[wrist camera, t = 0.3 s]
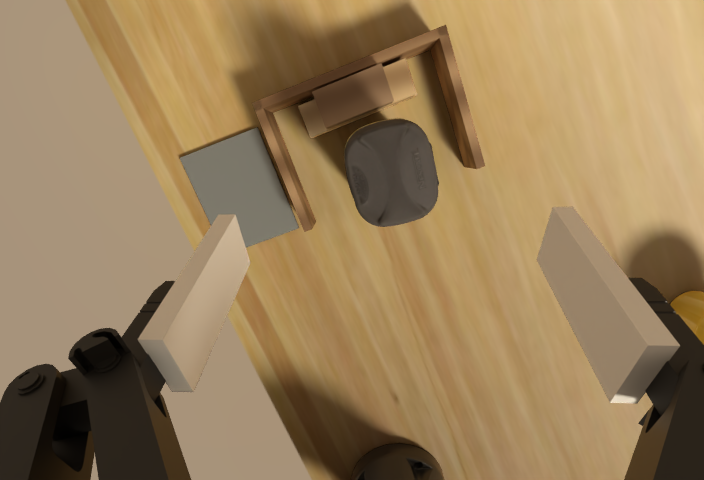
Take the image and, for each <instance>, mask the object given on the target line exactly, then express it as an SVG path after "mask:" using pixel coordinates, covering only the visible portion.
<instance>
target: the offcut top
mask: <svg viewBox="0 0 704 480" xmlns="http://www.w3.org/2000/svg"><path fill="white" fill-rule="evenodd" d="M312 93H313V96H314V99H315V101H316V104H317V106H318V109H319V112H320V114H321V117H322V120H323V122H324V125H325V128H326V129H329V128H331V127H334V126H336V125H339V124H341V123H344V122H346V121H349V120H351V119H354V118H356V117H359V116H361V115H364V114H366V113H369V112H371V111H374V110H376V109H379V108H382V107H384V106H387V105H389V104H392V102H393V101H394V99H393V96H392V93H391V90H390V87H389V84H388V81H387V78H386V75H385V72H384V69H383V66H382V63H381V64H378V65H376V66H373V67H371V68H369V69H366V70H364V71H361V72H359V73H356V74H354V75H352V76H349V77H347V78H344V79H342V80H339V81H337V82H334V83H332V84H330V85H327V86H325V87H322V88H320V89H317V90H315V91H313V92H312Z"/></svg>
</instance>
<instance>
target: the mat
mask: <svg viewBox="0 0 704 480" xmlns="http://www.w3.org/2000/svg"><path fill="white" fill-rule="evenodd" d="M180 160H181V162H182V164H183V166H184V168H185V170H186V173H187V175H188V177H189V179H190V181H191V183H192V185H193V188H194V190H195V192H196V194H197V196H198V198H199V200H200V203H201V205H202V207H203V209H204V211H205V213H206V215H207V217H208V220H209V222H210V224H211V225H212V224H213V222H214V221H215V219H216V218H217V216H218V215H227V214H235V215H236V218H237V221H238V224H239V228H240V231H241V234H242V237H243V241H244V244H245V247H249V246H251V245H254V244H257V243H260V242H262V241H265V240H268V239H271V238H273V237H276V236H279V235H281V234H284V233H287V232H290V231H292V230H295V229H298V228H299V226H298V224H297V221H296V219H295V216H294V214H293V212H292V209H291V207H290V204H289V202H288V199H287V197H286V195H285V192H284V190H283V187H282V185H281V182H280V180H279V178H278V175H277V173H276V170H275V168H274V165H273V163H272V161H271V158H270V156H269V153H268V151H267V148H266V146H265V144H264V141H263V139H262V136H261V134H260V131H259V129H258V127H257V128H254V129H252V130H249V131H247V132H244V133H241V134H239V135H236V136H234V137H231V138H229V139H226V140H224V141H221V142H219V143H216V144H214V145H211V146H209V147H206V148H204V149H201V150H198V151H196V152H193V153H191V154H188V155H186V156H183V157H181V158H180Z"/></svg>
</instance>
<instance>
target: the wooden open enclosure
mask: <svg viewBox="0 0 704 480" xmlns="http://www.w3.org/2000/svg"><path fill="white" fill-rule="evenodd" d="M429 50H431V54H432V57H433V61H434V64H435V67H436V71H437V74H438V78H439V81H440V85H441V88H442V91H443V95H444V98H445V102H446V105H447V109H448V112H449V115H450V119H451V122H452V126H453V129H454V133H455V136H456V139H457V143H458V146H459V150H460V153H461V156H462V160H463V163H464V167H467V168H474V169H478V168H481V167H484V166H485V164H484V160H483V156H482V153H481V149H480V146H479V142H478V138H477V135H476V131H475V128H474V124H473V120H472V117H471V113H470V110H469V106H468V103H467V99H466V95H465V92H464V88H463V85H462V81H461V77H460V74H459V70H458V67H457V63H456V60H455V56H454V52H453V49H452V45H451V42H450V38H449V34H448V31H447V27H446V25H444V26H441V27H439V28H437V29H434V30H432V31H429V32H427V33H424V34H422V35H419V36H417V37H414V38H412V39H409V40H407V41H404V42H402V43H399V44H397V45H394V46H392V47H389V48H387V49H384V50H382V51H379V52H377V53H374V54H372V55H369V56H367V57H364V58H362V59H359V60H357V61H355V62H352V63H350V64H347V65H345V66H342V67H340V68H337V69H335V70H332V71H330V72H327V73H325V74H322V75H320V76H317V77H315V78H312V79H310V80H307V81H305V82H302V83H300V84H297V85H295V86H292V87H290V88H287V89H285V90H282V91H280V92H277V93H275V94H273V95H270V96H268V97H265V98H263V99H260V100H258V101H255V102H253V103H252V105H253V107H254V110H255V112H256V115H257V117H258V119H259V122H260V124H261V127H262V129H263V132H264V134H265V137H266V139H267V141H268V144H269V146H270V149H271V151H272V154H273V156H274V159H275V161H276V163H277V166H278V168H279V171H280V173H281V176H282V178H283V181H284V183H285V185H286V188H287V190H288V193H289V195H290V198H291V200H292V203H293V205H294V207H295V210H296V212H297V215H298V217H299V220H300V222H301V225H302V227H303V229H304V232H305V231H308V230H311V229H312V228H313V226H314V224H315V222H316V220H315V218H314V215H313V213H312V210H311V208H310V205H309V202H308V200H307V197H306V195H305V192H304V190H303V187H302V185H301V182H300V180H299V177H298V175H297V172H296V170H295V167H294V165H293V162H292V160H291V157H290V155H289V152H288V150H287V147H286V145H285V142H284V140H283V137H282V135H281V132H280V130H279V127H278V125H277V122H276V120H275V117H274V115H273V112H276V111H278V110H281V109H283V108H286V107H288V106H291V105H293V104H296V103H298V102H301V101H303V100H306V99H308V98H311V97H313V93H312V92H313V91H315V90H317V89H320V88H322V87H325V86H327V85H330V84H332V83H334V82H337V81H339V80H342V79H344V78H347V77H349V76H352V75H354V74H356V73H359V72H361V71H364V70H366V69H369V68H371V67H373V66H376V65H378V64H381V63H382V66H383V67H385V66H387V65H390V64H392V63H395V62H397V61H400V60H402V59H405V58H406V59H409V58H411V57H414V56H416V55H419V54H422V53H424V52H427V51H429Z"/></svg>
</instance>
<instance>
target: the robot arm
mask: <svg viewBox="0 0 704 480" xmlns="http://www.w3.org/2000/svg"><path fill="white" fill-rule="evenodd" d="M537 261H538V263H539V265H540V267H541V269H542V271H543V273H544V275H545V277H546V279H547V281H548V283H549V285H550V287H551V289H552V291H553V293H554V295H555V297H556V298H557V300H558V302H559V304H560V306H561V308H562V310H563V312H564V314H565V316H566V318H567V320H568V322H569V324H570V326H571V328H572V330H573V332H574V333H575V335H576V337H577V339H578V341H579V343H580V345H581V347H582V349H583V351H584V353H585V355H586V357H587V359H588V361H589V363H590V365H591V367H592V369H593V370H594V372H595V374H596V376H597V378H598V380H599V382H600V384H601V386H602V388H603V390H604V392H605V394H606V396H607V398H608V400H609V402H610V403H638V402H639V400H640V399H641V398H642V396H643V395H644V394H645V392H646V393H647V395H648V396H649V398H650V400H651V401H652V403H653V405H652V407H651V408H650V409H649V410H648V412H647V413H646V414H645V416H644V417H643V418H642V419H641V421H640V422H639V423H638V424H640V425H642V426H643V428H642V431H641V434H640V436H639V439H638V442H637V445H636V448H635V451H634V453H633V456H632V459H631V462H630V465H629V468H628V470H627V473H626V476H625V479H624V480H704V345H703V343H702V342H701V341H700V340H699V339H698V337H697V336H696V335H695V334H694V333H693V331H692V330H691V329H690V328H689V327H688V325H687V324H686V323H685V322H684V321H683V319H682V318H681V317H680V316H679V315H678V314H676V311H675V310H674V309H673V308H672V306H671V305H670V304H668V303H667V300H666V299H665V298H664V297H663V296H662V294H661V293H660V292H659V291H658V290H657V289H656V288H655V287H654V286H652V285H651V284H649V283H648V282H646V281H645V280H643V279H642V278H628V277H627V276H626V275H625V273H624V272H623V271H622V270H621V268H620V267H619V266H618V264H617V263H616V262H615V261H614V259H613V258H612V257H611V255H610V254H609V253H608V251H607V250H606V249H605V248H604V246H603V245H602V244H601V242H600V241H599V240H598V239H597V237H596V236H595V235H594V233H593V232H592V231H591V229H590V228H589V227H588V226H587V224H586V223H585V222H584V220H583V219H582V218H581V216H580V215H579V214H578V213H577V211H576V210H575V209H574V207H553V208H552V211H551V214H550V218H549V221H548V224H547V228H546V231H545V234H544V237H543V241H542V244H541V247H540V251H539V254H538V257H537ZM249 265H250V260H249V257H248V253H247V250H246V247H245V244H244V241H243V237H242V234H241V231H240V228H239V224H238V221H237V218H236V215H235V214H227V215H218V216H217V218H216V219H215V221H214V222H213V224H212V225H211V227H210V228H209V230H208V232H207V233H206V235H205V236H204V238H203V239H202V241H201V242H200V244H199V245H198V247H197V248H196V250H195V252H194V253H193V255H192V256H191V258H190V259H189V261H188V262H187V264H186V266H185V267H184V269H183V270H182V272H181V273H180V275H179V276H178V278H177V279H176V281H165V282H164V283H163V284H162V285H161V286H159V287H158V288H157V289H156V290H154V292H153V293H152V294H151V296H150V297H149V299H148V300H147V303H146V304H145V305H144V306H143V307H142V309H141V310H140V313H138V315H137V316H136V318H135V319H134V320H133V322H132V323H131V325H130V326H129V328H128V329H127V330H126V332H125V333H124V335H123V336H122V338H121V336H120V335H119V333H118V332H117V331H116V330H115V329H111V328H103V329H99V330H96V331H93V332H91V333H89V334H87V335H86V336H84V337H82V338H81V339H80V340H79V341H78V342H77V343H75V345H74V346H73V347H72V349H71V351H70V353H69V360H70V361H71V362H72V363H73V364H74V365H75V366H76V369H72V370H68V371H64V372H61V373H60V372H59V371H58V370H57V369H56V368H55V367H54V366H53V365H50V364H43V365H38V366H35V367H33V368H30V369H28V370H26V371H25V372H23V373H22V374H20V375H19V376H17V377H16V378H15V379H14V380H13V381H12V382H11V383H10V384H9V385H8V387H7V389H6V390H5V392H4V395H3V397H2V400H1V402H0V480H90V478H91V471H92V465H93V458H94V452H95V457H96V464H97V470H98V477H99V480H191V478H190V475H189V472H188V469H187V466H186V463H185V460H184V457H183V455H182V451H181V448H180V445H179V442H178V440H177V437H176V434H175V431H174V428H173V425H172V422H171V419H170V416H169V413H168V410H167V407H166V404H165V401H164V398H163V396H162V395H161V393H160V391H161V389H162V387H163V385H164V384H165V382H166V383H167V385H168V386H169V388H170V390H171V391H172V392H194V390H195V388H196V385H197V383H198V381H199V378H200V376H201V374H202V371H203V369H204V367H205V365H206V363H207V360H208V358H209V356H210V353H211V351H212V349H213V347H214V344H215V342H216V340H217V338H218V335H219V333H220V331H221V328H222V326H223V324H224V321H225V319H226V317H227V315H228V312H229V310H230V308H231V306H232V303H233V301H234V299H235V297H236V294H237V292H238V290H239V287H240V285H241V283H242V281H243V278H244V276H245V274H246V271H247V269H248V267H249ZM351 480H444V476H443V473H442V469H441V467H440V465H439V464H438V462H437V461H436V460H435V458H434V457H433V456H432V455H430V454H429V453H428V452H426V451H424V450H423V449H421V448H418V447H415V446H412V445H407V444H390V445H385V446H381V447H379V448H376V449H374V450H372V451H370V452H369V453H367V454H366V455H365V456H364V457H363V458H361V460H360V461H359V462H358V463H357V465H356V466H355V468H354V471H353V473H352V478H351Z"/></svg>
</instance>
